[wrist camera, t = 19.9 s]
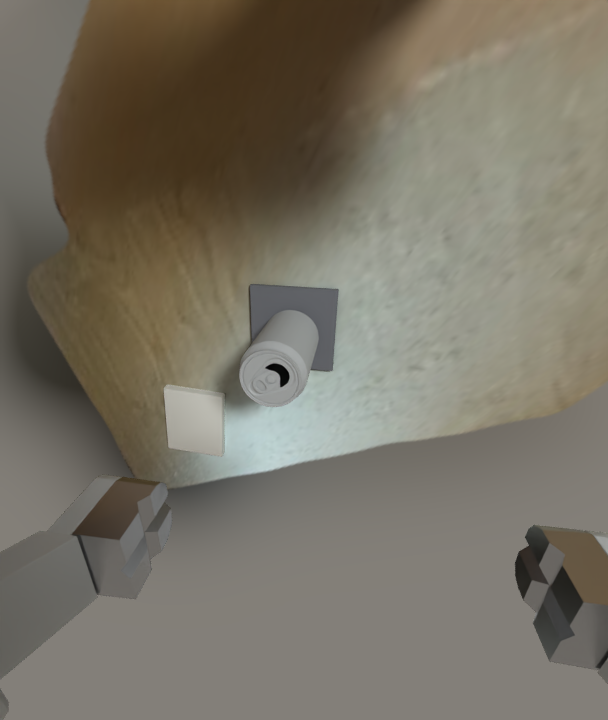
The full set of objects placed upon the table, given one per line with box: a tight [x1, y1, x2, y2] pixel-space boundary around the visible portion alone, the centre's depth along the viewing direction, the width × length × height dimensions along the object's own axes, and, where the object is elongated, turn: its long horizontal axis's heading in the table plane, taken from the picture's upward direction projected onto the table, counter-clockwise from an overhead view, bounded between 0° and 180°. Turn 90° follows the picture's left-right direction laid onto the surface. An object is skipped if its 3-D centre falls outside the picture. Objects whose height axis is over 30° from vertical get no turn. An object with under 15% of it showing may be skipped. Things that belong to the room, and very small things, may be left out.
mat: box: [250, 284, 338, 371], centre depth 43 cm, size 10×10×1 cm
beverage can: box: [239, 310, 319, 407], centre depth 37 cm, size 6×6×12 cm
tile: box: [164, 384, 225, 457], centre depth 50 cm, size 2×8×10 cm
